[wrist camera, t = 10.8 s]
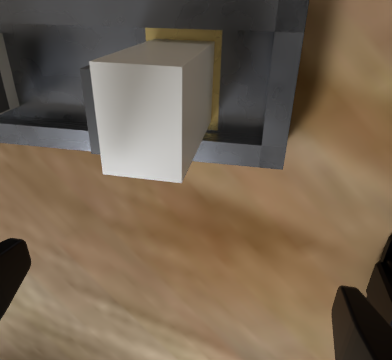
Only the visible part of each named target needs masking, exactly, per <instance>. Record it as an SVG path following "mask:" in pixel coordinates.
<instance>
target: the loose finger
mask: <svg viewBox="0 0 392 360" xmlns="http://www.w3.org/2000/svg"><path fill="white" fill-rule="evenodd" d="M214 44H215V42H214V41H193V40H172V39H152V40H149V41H146V42H144V43H141V44H138V45H135V46H132V47H129V48H126V49H123V50H120V51H118V52H115V53H112V54H109V55H106V56H103V57H100V58H97V59H95V60H92V61H89V65H88V66H85V67H82V68H80V75H81V82H82V89H83V96H84V104H85V111H86V118H87V125H88V133H89V140H90V147H91V154H100V155H101V162H102V170H103V174H106V175H115V176H124V177H133V178H141V179H150V180H159V181H168V182H176V183H182V182H183V179H184V177H185V175H186V173H187V171H188V169H189V167H190V165H191V162H192V160H193V158H194V156H195V154H196V152H197V150H198V148H199V146H200V143H201V141H202V139H203V137H204V135H205V133H206V131H207V129H208V126H209V124H210V122H211V109H212V87H213V66H214Z"/></svg>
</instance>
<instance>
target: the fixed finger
mask: <svg viewBox="0 0 392 360" xmlns="http://www.w3.org/2000/svg"><path fill="white" fill-rule="evenodd" d="M19 106H20V105H19V101H18V97H17V93H16V89H15V85H14V80H13V76H12V72H11V68H10V64H9V60H8V55H7V51H6V47H5V43H4V39H3V35H2V33H0V114H3V113H5V112H7V111H10V110H12V109H14V108H16V107H19Z"/></svg>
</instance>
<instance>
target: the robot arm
mask: <svg viewBox="0 0 392 360" xmlns="http://www.w3.org/2000/svg"><path fill="white" fill-rule="evenodd" d="M30 266H31V258H30V255H29V251H28V248H27V244H26V242H25V241H24V240H22V239H16V238H9V239H7V240H4V241H2V242H0V320H1V318H2V317H3V315H4V314H5V312H6V310H7V308H8V307H9V305H10V303H11V301H12V300H13V298H14V296H15V294H16V292H17V290H18V289H19V287H20V285H21V283H22V281H23V280H24V278H25V276H26V274H27V272H28V271H29V269H30ZM366 292H367V298H366V297H365V296H364V295H363V294H362V293H361V292H360V291H359V290H358V289H357V288H355V287H349V286H339V288H338V290H337V293H336V297H335V300H334V303H333V307H332V326H333V338H334V349H335V360H392V235H391V236H390V237H389V238H388V240H387V243H386V245H385V248H384V251H383V254H382V256H381V259H380V261H379V262H377V263H376V264H375V267H374V270H373V272H372V275H371V278H370V281H369V284H368V286H367V289H366Z"/></svg>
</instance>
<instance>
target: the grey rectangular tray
mask: <svg viewBox="0 0 392 360" xmlns="http://www.w3.org/2000/svg"><path fill="white" fill-rule="evenodd" d="M308 5H309V0H0V33H2V35H3V39H4V43H5V47H6V51H7V55H8V60H9V64H10V68H11V72H12V76H13V80H14V85H15V89H16V93H17V97H18V101H19V105H20V106H19V107H16V108H14V109H12V110H10V111H7V112H5V113H3V114H0V143H9V144H19V145H30V146H40V147H51V148H61V149H72V150H82V151H91V147H90V140H89V133H88V125H87V118H86V111H85V104H84V96H83V89H82V82H81V75H80V68H82V67H85V66H88V65H89V61H92V60H95V59H97V58H100V57H103V56H106V55H109V54H112V53H115V52H118V51H120V50H123V49H126V48H129V47H132V46H135V45H138V44H141V43H144V42H146V41H149V40H152V39H172V40H193V41H214V42H215V44H214V66H213V87H212V109H211V122H210V124H209V126H208V129H207V131H206V133H205V135H204V137H203V139H202V141H201V143H200V146H199V148H198V150H197V152H196V154H195V156H194V158H193V160H192V161H198V162H208V163H219V164H229V165H240V166H250V167H261V168H271V169H282V170H283V166H284V159H285V153H286V146H287V140H288V133H289V127H290V120H291V114H292V108H293V101H294V95H295V88H296V82H297V75H298V69H299V63H300V56H301V50H302V43H303V37H304V30H305V24H306V17H307V11H308Z"/></svg>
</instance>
